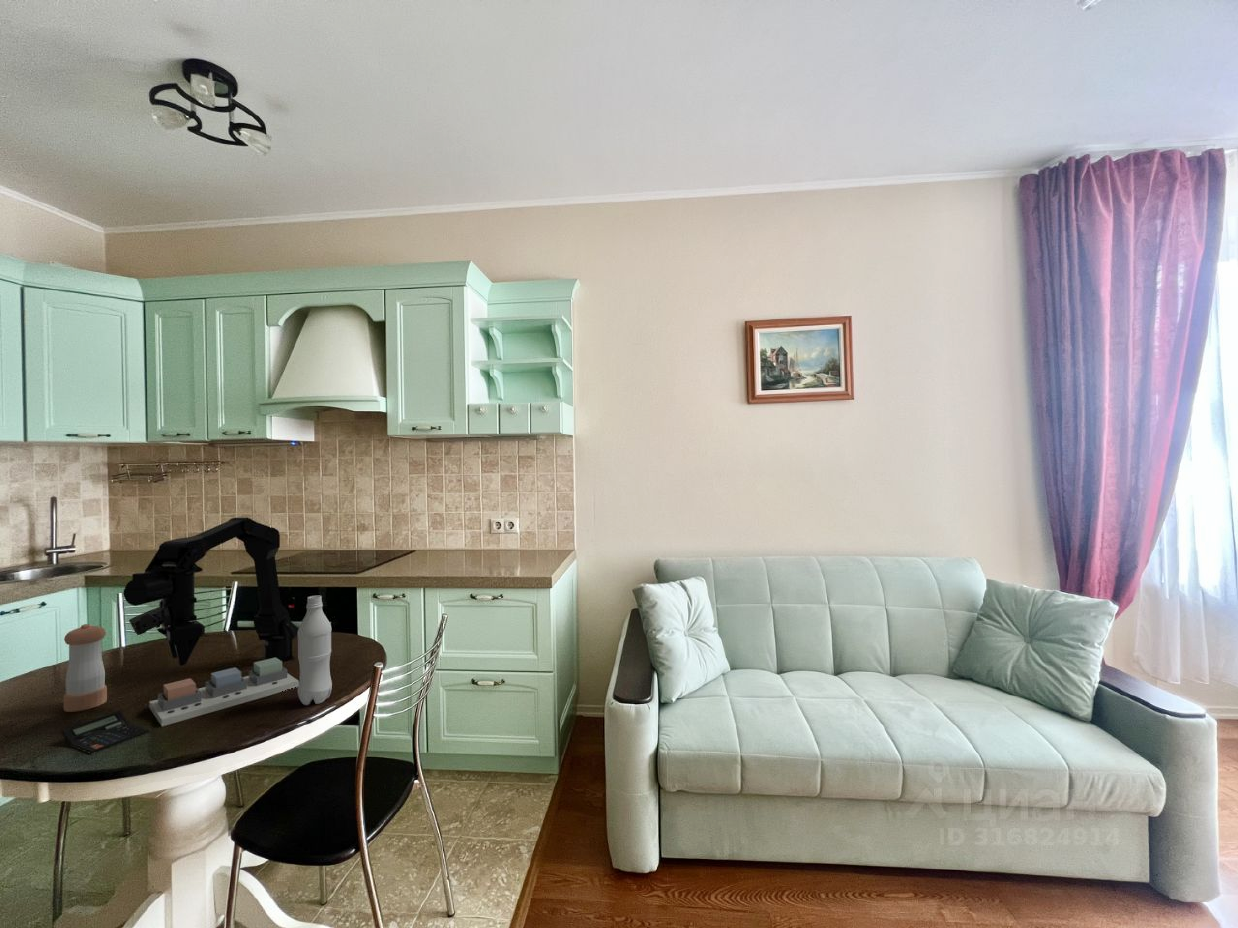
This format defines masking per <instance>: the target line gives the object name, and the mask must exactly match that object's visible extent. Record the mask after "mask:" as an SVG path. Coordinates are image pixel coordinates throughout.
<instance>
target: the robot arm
mask: <svg viewBox="0 0 1238 928" xmlns="http://www.w3.org/2000/svg"><path fill="white" fill-rule="evenodd" d="M280 535H281V534H280V531H279V530H278V529H277V528H275V527H270V526H269V525H266V524H263V523H260V522H257V521H255V520H253V519H252V518H250V517H233V518H230V519H229V520H228V521H226V522H223V523H220V524H219V525H216V526H214V527H212V528H209V529H207V530H204V531H202V532H200V533H198V534H196V535H195V534H194V535H192V536H186V537H180V538H175V539H171V540H166V541H163V542H162V543H161V544H160V545H159V546H158V549H157V551H156V553H155V554H154V555H153V557H152V559H151V560H150V562H149V564H148V565H147V567H146V568H145V569H144V572H137V573H133V574H131V575H132V579H131V580H130V581H128V582H127V583H126V584H125V587H124V589H123V591H122V592H123V597H124V599H125V601H126V603H128V604H129V605H131V606H134V607H135V606H141V605H145V604H149V603H153V602H156V601H159V602H158V603H159V606H158V607H156V608H153V609H152V608H151V609H150V610H148V611H145V612H142V613H140V614H138V615H137V616H136V615H135V616H134V617H131V618H130V619H129V620H128V622H129V623H130V625H131V628H132V629H133V631H134V633H135V634H136V635H137V636H141V635H143V634H146V633H147V631H151V630H152V629H155V628H156V631H157V632H158V633H160V634H162V635H164V636H165V637H166V638H165V640H167V643H168V644H167V645H168V647H169V651H170V654H171V658H172V659H177V660H178V665H179V666H180V667H181V666H185V665H187V662H188V661H189V659H190V657H191V654H192V653H193V651H194V648H195V647H196V645H197V643H198V642H199V640H200V638H201V637H202V636H204V635H206V626H205V625H204V624H203V623H201V622H200V621H198V620H197V619H198V615H197V614H195V610H196V609H195V603H197V602H198V601H197V599H198V597H196V596H195V574H196V573H201V572H203V571H204V569H203V568H202V567H200V566H199V565H197V563H198V562H199V561H200V560H202V559H203V558H204V557H205V556H206V555H207V552H209V551H210V550H212V549H214V548H216V547H218V546H220V545H223V544H224V543H226V542H228V541H230V540H233V539H237V540H239V541H240V542H242V543H243V546H244V548H245V551H246V553H247V554H248V555H249V557H250V558H251V559H252V560H253V564H254V569H255V571H254V572H255V577H256V579H255V580H256V586H257V590H258V591H257V592H258V598H259V605H260V606H259V607H260V608H259V611H258V613H256V615H254V616H253V617H252V621H253V630H254V631H255V632H256V634H257V636H258V640H259V641H264V644H263V646H262V661H263V660H267V659H271V658H275V657H276V658H277V659H279V660H280V661H282V663H284V662H286V661H290V660H293V659H295V658H296V656H294V655H293V640H295V639H296V637H297V638H298V635H297V633H298V629H299V627H298V626H297V625H296V624H295V623H293V622H292V620H291V616H290V613H289V611H288V610H287V609H286V607H285V606H284V605H283V604H282V601H281V593H280V585H279V579H278V570H277V563H276V555H277V553H278V551H279V549H280V548H281V547H280V546H281V536H280Z"/></svg>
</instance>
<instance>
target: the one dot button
mask: <svg viewBox="0 0 1238 928" xmlns="http://www.w3.org/2000/svg"><path fill="white" fill-rule="evenodd" d="M282 666H283V662H282V661H280V660H279V659H277V658H276V657H275V658H271V659H267V660H263V659H262V660H258V661H255V662H253V670H254V673H255V674H256V675H258V676H263V675H267V674H270V673H274V672H278V671H282Z"/></svg>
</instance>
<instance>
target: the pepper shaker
mask: <svg viewBox="0 0 1238 928" xmlns="http://www.w3.org/2000/svg"><path fill="white" fill-rule="evenodd" d="M106 633H107V632H106V630H105V628H104V627H102V626H98V625H90V623H89V624H88V623H85V624H82V625H81V626H80V627H78V628H75V629H72V630H71V631H68V632H67V633H66V634H65V636H64V639H63V640H64V643H65V644H66V645H68V665H67V670H66V674H65V693H64V694H63V711H64V712H66V713H67V712H69V713H70V712H71V713H72V712H81V711H86V710H90V709H92V708H96V707H99V706H100V705H103V704H105V703H107V701H108V700H107V699H108V695H107V694H108V688H107V687H108V686H107V685H106V684H105V682H106V681H105V679H106V671H105V670H106V669H105V666H104V662H103V658H102V657H103V655H102V639H104V638H105V637H106Z"/></svg>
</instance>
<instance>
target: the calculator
mask: <svg viewBox="0 0 1238 928" xmlns="http://www.w3.org/2000/svg"><path fill="white" fill-rule="evenodd" d="M149 732H150V730H149V729H147V728H144V727H141V726H138V725H135V724H131V723H130V722H129V721H128V720H127V719H126V717H125V716H124V714H122V712H121V710H118V711H116V712H115V711H114V712H112V713H109V714H106V715H103V716H100V717H97V718H94V719H91V720H89V721H84V722H83V723H80V724H77V725H74V726H71V727H68V728H65V729H62V730H61V735H62V737H63V738H64V739H65V741H66V743H68V745H69V746H70V745H72V746H75V747H77V748H80V749H82V750H85V751H86V752H85V753H87V752H90V753H94V752H97V753H99V752H98V751H100V750H102V751H104V750H103V749H105V750H107V749H109V747H110V748H112V747H111V746H113V747H115V746H117V744H118V745H120V744H122V742H123V743H125V742H124V741H126V742H128V741H130V740H129V739H131V740H132V738H133V739H135V737H136V738H138V737H141V736H143V735H146V734H149ZM127 740H128V741H127ZM119 743H120V744H119ZM114 745H115V746H114ZM106 748H107V749H106ZM100 752H101V751H100Z"/></svg>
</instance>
